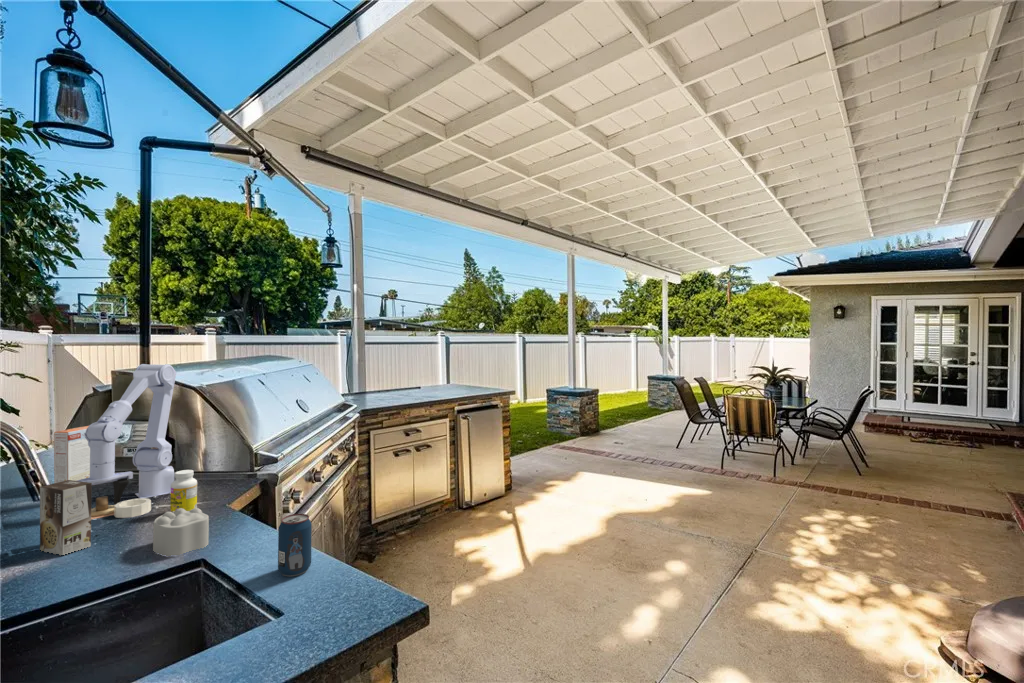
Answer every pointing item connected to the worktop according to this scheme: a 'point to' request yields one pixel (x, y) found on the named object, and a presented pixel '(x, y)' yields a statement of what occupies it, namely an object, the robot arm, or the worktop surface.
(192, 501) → the supplement bottle
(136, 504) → the bowl
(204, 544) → the beige bumpy block
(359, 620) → the worktop surface
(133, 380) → the robot arm
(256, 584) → the worktop surface
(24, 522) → the worktop surface
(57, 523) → the coffee box
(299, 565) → the soda can
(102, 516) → the mat
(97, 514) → the bamboo lid
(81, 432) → the cracker box
